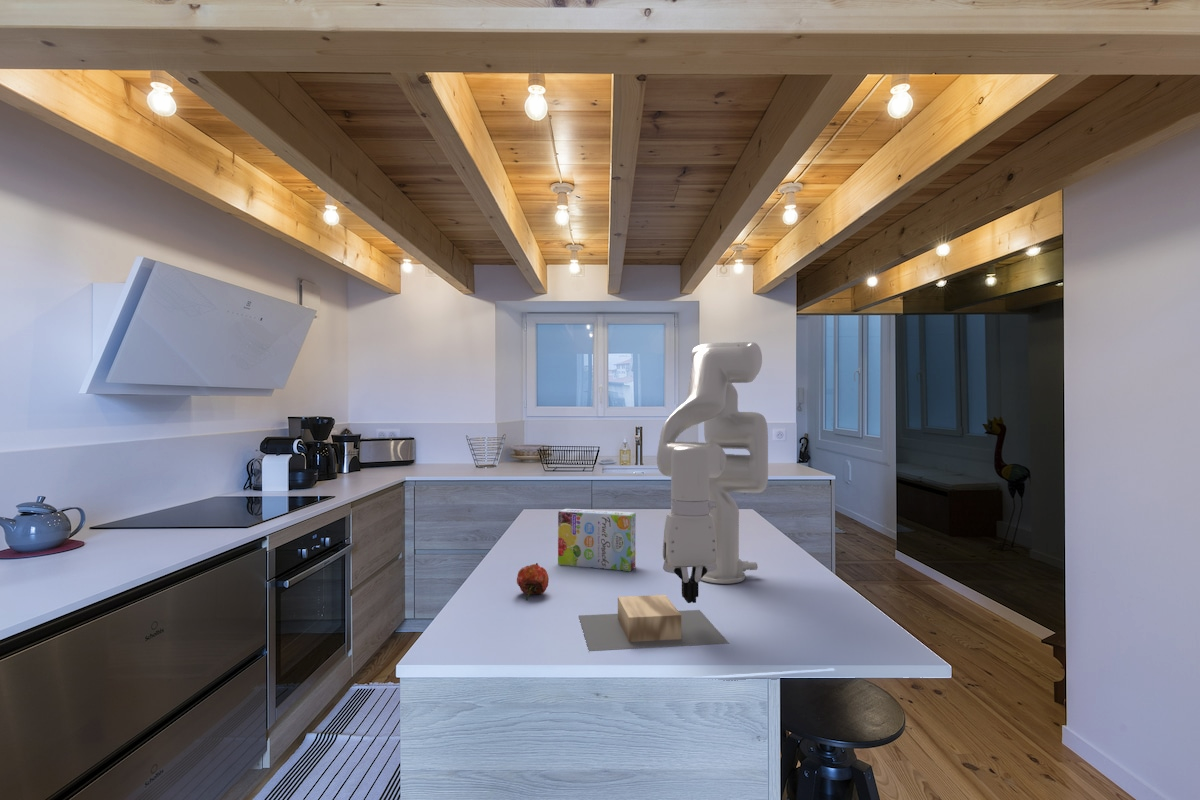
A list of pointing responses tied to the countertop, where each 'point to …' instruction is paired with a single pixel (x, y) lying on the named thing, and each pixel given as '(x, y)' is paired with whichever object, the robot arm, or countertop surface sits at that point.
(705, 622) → the mat
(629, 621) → the slab
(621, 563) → the snack box
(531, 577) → the pomegranate
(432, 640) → the countertop surface
